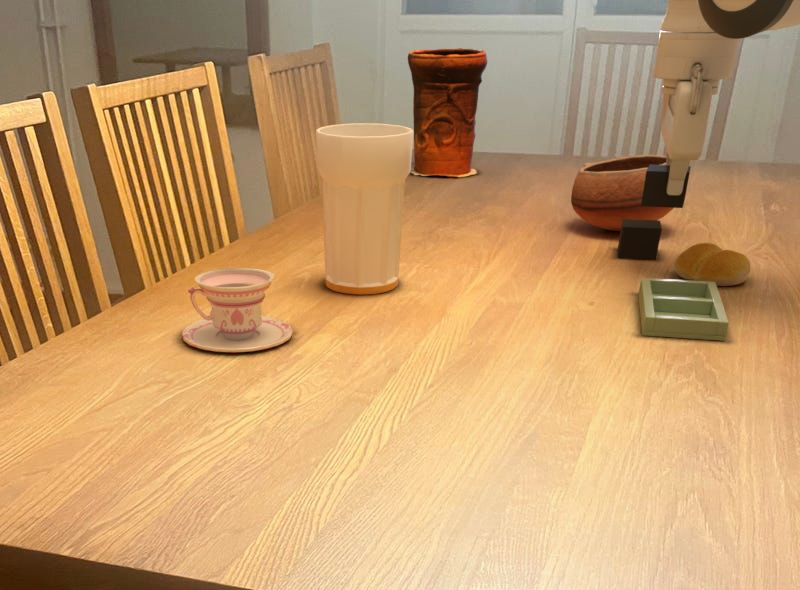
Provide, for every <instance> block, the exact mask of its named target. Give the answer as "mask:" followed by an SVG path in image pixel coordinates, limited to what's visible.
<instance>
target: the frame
mask: <svg viewBox="0 0 800 590" xmlns="http://www.w3.org/2000/svg"><path fill="white" fill-rule="evenodd" d="M637 296H638V305H639V316H640V325H641V326H640V327H641V335H642V336H646V337H660V338H661V337H662V338H676V339H689V340H691V339H692V340H704V341H721V342H725V341H726V336H727V332H728V329H729V325H730V322H729V318H728V315H727V313H726V309H725V306H724V304H723V300H722V298H721V295H720V292H719V288H718V286H716V283H715V282H707V281H695V280H693V281H692V280H687V279H674V278H673V279H672V278H654V277H641V278H640V283H639V289H638V295H637Z"/></svg>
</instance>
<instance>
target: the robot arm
mask: <svg viewBox="0 0 800 590" xmlns="http://www.w3.org/2000/svg"><path fill="white" fill-rule="evenodd" d="M798 25H800V0H667V8H666V12H665V15H664V18H663V20H662V22H661V26H660V31H659V37H658V43H657V49H656V56H655V61H654V68H653V77H654V78H655V79H660V80H662V87H661V94H663V96H662V112H661V137H662V139H663V143H664V147H665V150H666V156H667V157H666V165H670V171H669V177H668V183H667V189H666V190H667V194H668V195H680V194H681V193H682V190H683V185H684V180H685V177H686V174H687V171H688V168H689V166H690V163H691V161H698V160H699V159H701V157H702V154H703V151H704V146H705V141H706V136H707V135H706V134H707V129H708V124H709V123H708V122H709V117H710V110H711V106H712V98H713V97H712V96H715V95H717V94H718V92H719V85H720V81H721V80H727V79H730V78H732V76H733V73H734V67H735V64H736V63H735V62H736V57H737V53H738V47H739V41H740V39H746V38H749V37H752V36H754V35H757V34H760V33H764V32H768V31H775V30H781V29H784V28H785V29H786V28H790V27H795V26H798Z"/></svg>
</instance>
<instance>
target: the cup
mask: <svg viewBox="0 0 800 590" xmlns="http://www.w3.org/2000/svg"><path fill="white" fill-rule="evenodd" d="M315 145H316V146H315V148H316V149H315V150H316V171H317V172H318V175H319V176H320V177H321V182H322V183H321V186H322V217H323V218H322V219H323V248H324V250H323V251H324V274H325V275H324V277H325V279H324V282H325V286H326V287H327V288H328V289H329V290H331V291H333V292H337V293H340V294H341V293H342V294H347V295H357V296H358V295H361V296H364V295H376V294H382V293H383V294H384V293H388V292H391V291H393V290H394V289H396V288H397V286H398V285H399V274H400V260H401V248H402V247H401V245H402V235H403V234H402V233H403V232H402V231H403V219H404V207H405V206H404V204H405V189H406V179H407V177H409V175H410V174H411V171H412V170H411V166H412V159H413V148H414V129H412V128H410V127H408V126H405V125H404V126H403V125H401V124H400V125H398V124H389V123H372V122H370V123H369V122H363V123H362V122H361V123H359V122H358V123H357V122H356V123H342V124H331V125H325V126H321V127H319V128H317V129H316V130H315Z"/></svg>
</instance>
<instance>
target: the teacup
mask: <svg viewBox="0 0 800 590" xmlns="http://www.w3.org/2000/svg"><path fill="white" fill-rule="evenodd" d="M273 280H275V274H274V273H273V272H271V271H269V270H265V269H261V268H251V267H227V268H220V269H213V270H209V271H205V272H202V273H200V274H198V275H196V276H195V278H194V282H195V283H196V284H197V285H198V287H199V288H195V287H191V288H190V289H188V290H187V292H188V294H190V297H189V298H190V301H191V304H192V306H193V307H194V309H195V311H196V312H197V313H198V314H199V315H200V316H201V318H203V319H200V320H196V321H194V322H193V323H190V324H188V325H187V326H186V327H185V328H184V329H183V330H182V332H181V334H182V335H181V336H182V340H183V341H184V342H185V343H186V344H188V345H189V346H191V347H194V348H197V349H200V350H205V351H211V352H215V353H216V352H217V353H246V352H256V351H261V350H267V349H271V348H274V347H277V346H280V345H282V344H284V343H286V342H287V341H289V340H291V337H292V335H293V334H294V331H293V328H292V326H291V325H290V324H289V323H287V322H286V321H284V320H283V319H278V318H275V317H272V316H267V315H262V304H263V301H264V299H265V298H266V294H265V292H267V290H268V289H269V288H270V286H271V284H272V281H273ZM198 294H199V295H202V296H204V297H206V300H207V301H208V303H209V304H210V307H211V309H210V313H209V315H206V314H205V313H204V311H202V310H201V309H200V307H199V305H198V304H197V302H196V296H197V295H198Z"/></svg>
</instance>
